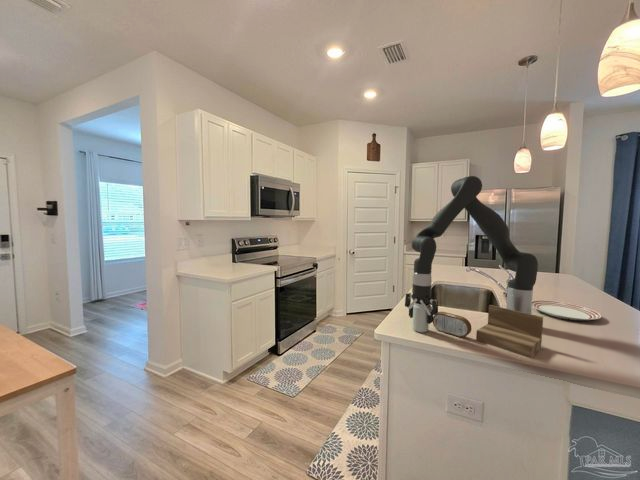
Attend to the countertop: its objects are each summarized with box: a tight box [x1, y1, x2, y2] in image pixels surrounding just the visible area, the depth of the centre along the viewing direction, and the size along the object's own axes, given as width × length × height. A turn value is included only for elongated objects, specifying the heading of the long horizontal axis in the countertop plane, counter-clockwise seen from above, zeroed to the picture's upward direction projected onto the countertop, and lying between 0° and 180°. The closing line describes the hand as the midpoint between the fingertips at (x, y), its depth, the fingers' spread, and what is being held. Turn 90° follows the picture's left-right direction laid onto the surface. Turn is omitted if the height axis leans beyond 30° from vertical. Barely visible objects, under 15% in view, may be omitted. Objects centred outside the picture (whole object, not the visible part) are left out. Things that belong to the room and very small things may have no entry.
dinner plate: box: [532, 299, 603, 321], centre depth 142 cm, size 27×27×3 cm
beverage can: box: [412, 303, 430, 333], centre depth 120 cm, size 6×6×12 cm
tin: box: [432, 311, 472, 338], centre depth 117 cm, size 15×3×8 cm, turn 45°
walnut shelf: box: [475, 304, 544, 359], centre depth 107 cm, size 12×18×12 cm, turn 39°
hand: (420, 320), depth 120 cm, fingers open, 8 cm apart
